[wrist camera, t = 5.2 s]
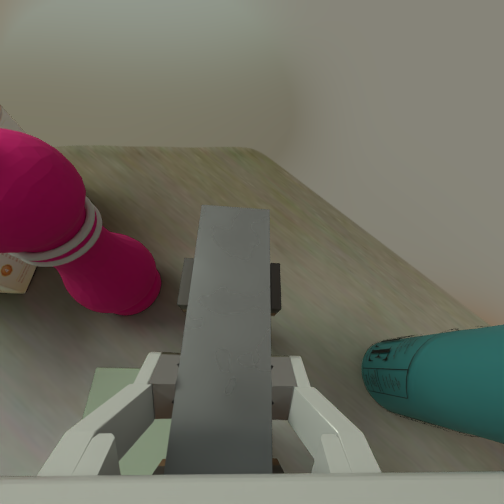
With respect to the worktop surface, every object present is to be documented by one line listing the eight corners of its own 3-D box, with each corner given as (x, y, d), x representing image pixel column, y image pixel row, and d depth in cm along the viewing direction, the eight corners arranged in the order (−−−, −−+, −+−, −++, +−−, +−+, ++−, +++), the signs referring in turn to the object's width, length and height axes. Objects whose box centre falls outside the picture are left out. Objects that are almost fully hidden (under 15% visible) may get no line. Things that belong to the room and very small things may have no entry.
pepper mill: (114, 251, 27) (-108, 35, 9) (174, 264, 27) (70, 73, 9) (83, 312, 24) (-344, 166, 6) (152, 327, 24) (-74, 223, 6)
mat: (20, 664, 15) (9, 680, 14) (100, 367, 22) (96, 367, 21) (148, 656, 15) (145, 671, 15) (186, 369, 23) (184, 369, 22)
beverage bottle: (402, 427, 22) (1127, 699, 4) (340, 383, 23) (711, 456, 5) (419, 364, 25) (916, 370, 7) (363, 328, 26) (665, 252, 8)
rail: (155, 651, 8) (116, 806, 5) (206, 233, 15) (201, 204, 12) (259, 644, 8) (276, 787, 5) (261, 237, 15) (269, 209, 12)
